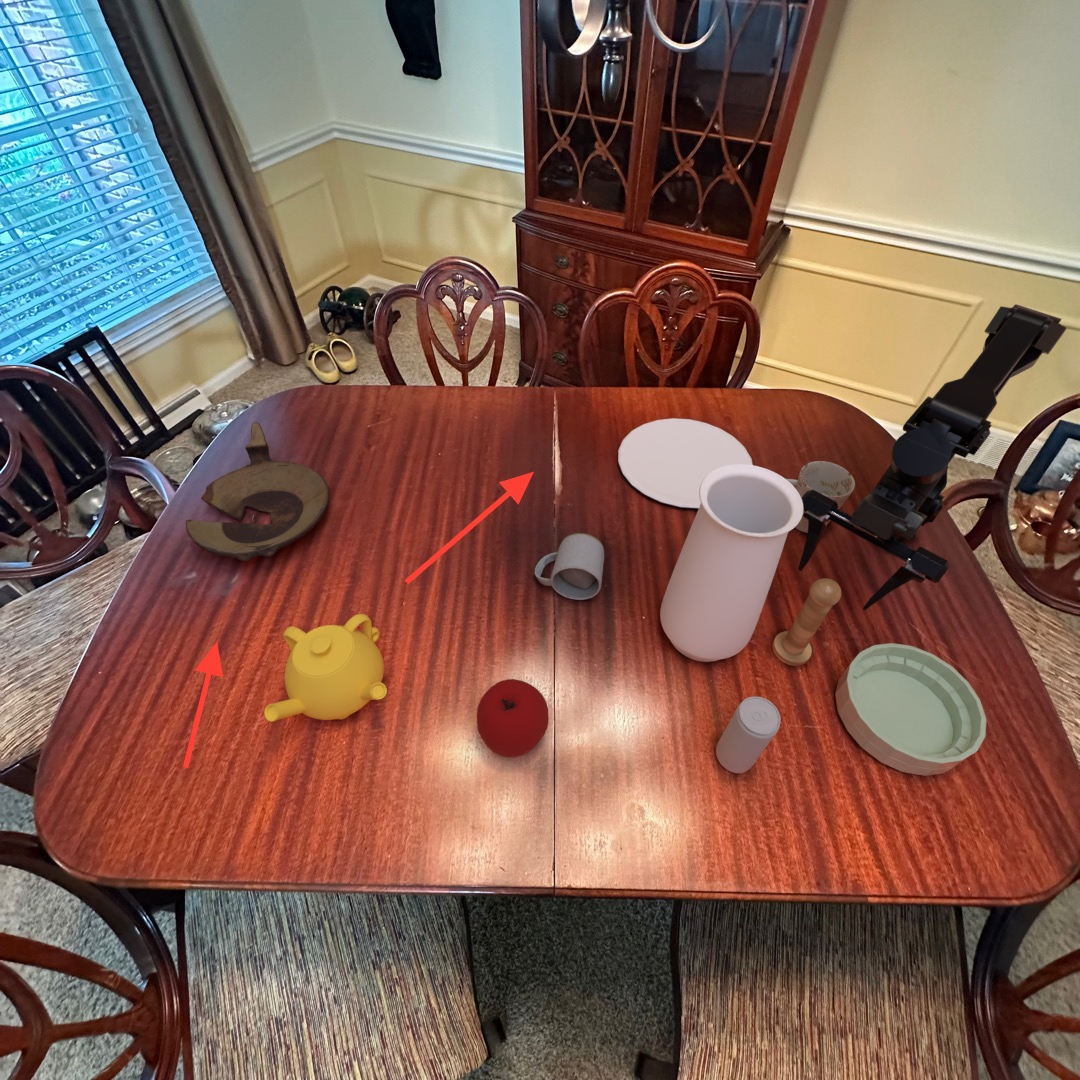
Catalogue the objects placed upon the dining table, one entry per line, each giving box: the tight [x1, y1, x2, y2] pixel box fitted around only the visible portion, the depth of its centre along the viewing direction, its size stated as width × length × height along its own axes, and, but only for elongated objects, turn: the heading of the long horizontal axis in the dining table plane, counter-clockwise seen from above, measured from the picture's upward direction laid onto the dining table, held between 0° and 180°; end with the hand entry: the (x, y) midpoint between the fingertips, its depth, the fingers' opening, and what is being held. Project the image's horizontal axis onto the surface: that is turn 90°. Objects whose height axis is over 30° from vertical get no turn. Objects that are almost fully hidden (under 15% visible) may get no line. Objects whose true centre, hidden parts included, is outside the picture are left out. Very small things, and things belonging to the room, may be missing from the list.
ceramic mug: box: [534, 532, 605, 601], centre depth 92 cm, size 11×8×8 cm
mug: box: [785, 460, 856, 534], centre depth 100 cm, size 8×13×10 cm, turn 78°
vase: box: [659, 464, 803, 663], centre depth 78 cm, size 13×13×28 cm
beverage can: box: [715, 695, 782, 774], centre depth 72 cm, size 5×5×12 cm
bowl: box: [835, 642, 987, 777], centre depth 78 cm, size 16×16×5 cm
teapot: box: [263, 613, 388, 722], centre depth 78 cm, size 14×14×11 cm
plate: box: [617, 418, 754, 510], centre depth 112 cm, size 25×25×1 cm
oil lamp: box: [185, 421, 330, 562], centre depth 102 cm, size 22×30×8 cm
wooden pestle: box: [771, 577, 842, 667], centre depth 81 cm, size 5×5×16 cm
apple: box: [476, 678, 550, 758], centre depth 75 cm, size 9×9×10 cm
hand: (831, 589), depth 80 cm, fingers open, 9 cm apart
